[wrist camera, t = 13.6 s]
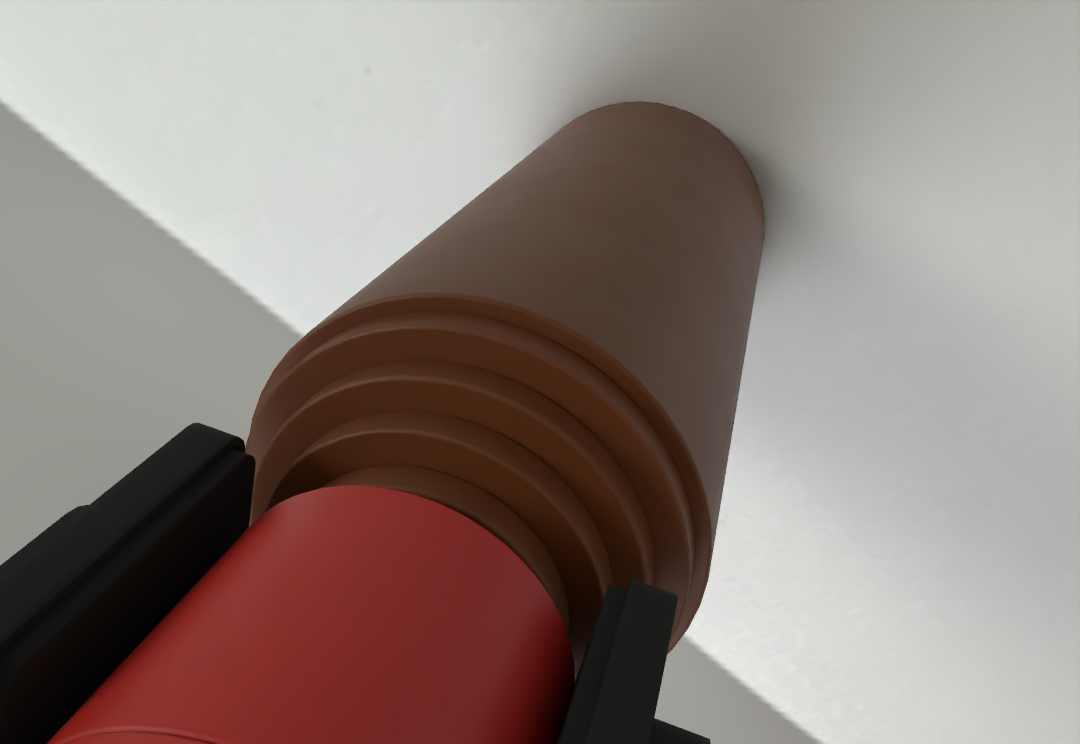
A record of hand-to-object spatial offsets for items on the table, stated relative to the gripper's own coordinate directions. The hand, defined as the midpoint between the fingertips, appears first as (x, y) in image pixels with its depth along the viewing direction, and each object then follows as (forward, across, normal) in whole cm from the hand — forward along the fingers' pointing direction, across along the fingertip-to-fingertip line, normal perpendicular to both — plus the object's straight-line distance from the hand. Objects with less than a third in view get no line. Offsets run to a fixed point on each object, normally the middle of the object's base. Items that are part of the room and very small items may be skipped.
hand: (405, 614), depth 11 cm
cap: (0, 0, 0) cm, 0 cm away
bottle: (+16, 0, 0) cm, 16 cm away
